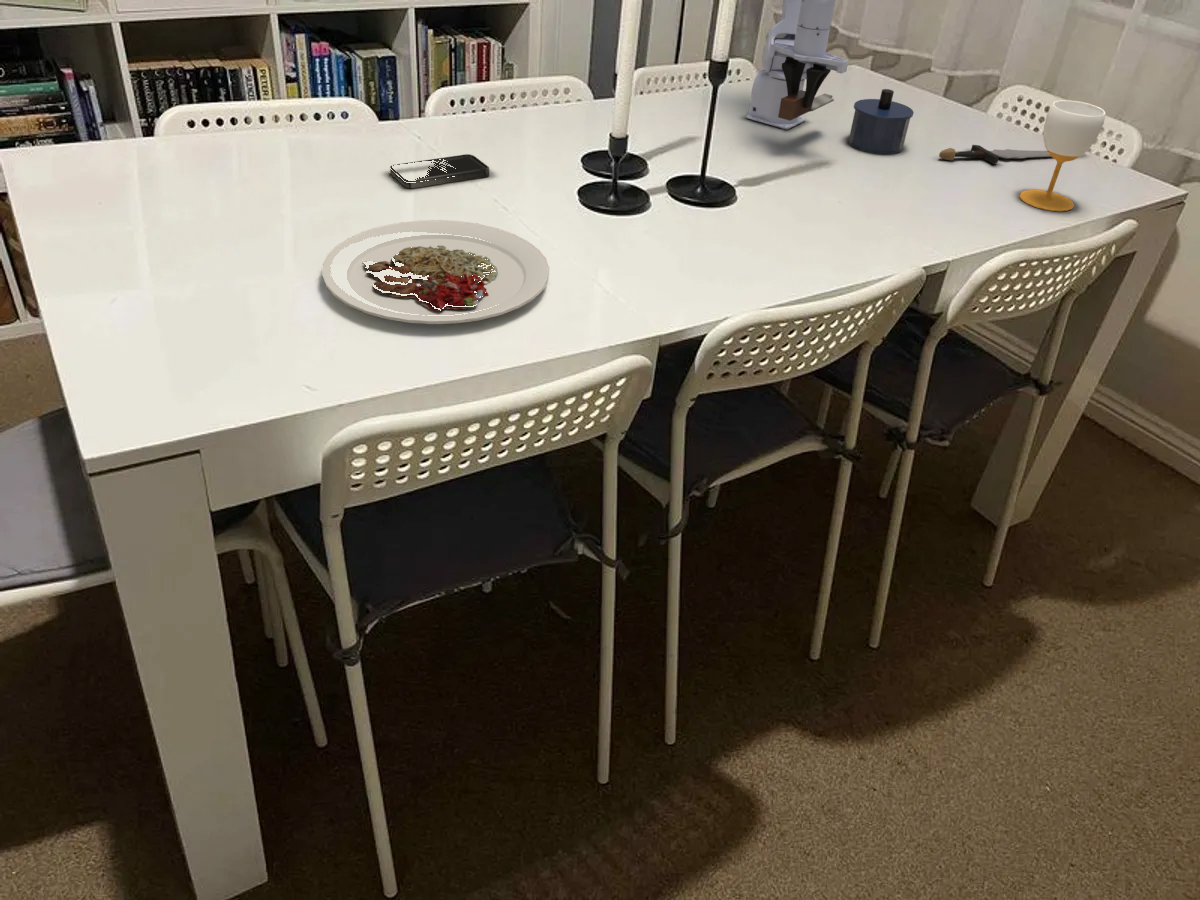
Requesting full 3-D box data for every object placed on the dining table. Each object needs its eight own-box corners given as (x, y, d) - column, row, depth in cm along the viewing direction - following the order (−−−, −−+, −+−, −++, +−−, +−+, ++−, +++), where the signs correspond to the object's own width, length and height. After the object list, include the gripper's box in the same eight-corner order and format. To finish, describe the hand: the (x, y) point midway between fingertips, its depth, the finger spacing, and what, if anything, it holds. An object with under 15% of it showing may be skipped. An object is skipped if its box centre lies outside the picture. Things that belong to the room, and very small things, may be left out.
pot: (839, 144, 188) (846, 110, 185) (862, 131, 195) (869, 98, 191) (889, 158, 184) (897, 123, 180) (910, 145, 191) (919, 111, 187)
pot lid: (843, 113, 185) (848, 89, 182) (867, 100, 192) (872, 78, 190) (898, 127, 180) (903, 104, 177) (921, 114, 187) (927, 91, 185)
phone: (491, 169, 163) (406, 182, 156) (491, 175, 164) (407, 189, 157) (470, 153, 168) (387, 165, 162) (470, 159, 169) (388, 171, 162)
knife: (791, 121, 176) (794, 102, 174) (776, 117, 178) (779, 98, 176) (837, 99, 189) (841, 81, 187) (823, 95, 190) (827, 77, 188)
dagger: (927, 150, 189) (929, 139, 188) (1080, 153, 193) (1084, 142, 192) (943, 165, 183) (946, 154, 182) (1101, 167, 188) (1105, 156, 186)
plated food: (442, 214, 150) (441, 193, 148) (593, 281, 136) (595, 258, 134) (276, 276, 131) (272, 252, 129) (432, 361, 116) (431, 336, 114)
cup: (1019, 187, 176) (1049, 96, 166) (1072, 197, 174) (1106, 105, 164) (1019, 205, 169) (1050, 111, 159) (1074, 215, 167) (1110, 120, 157)
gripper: (766, 20, 172) (753, 99, 180) (841, 38, 166) (825, 119, 174) (785, 14, 177) (772, 91, 185) (859, 31, 170) (842, 110, 179)
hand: (799, 104), depth 180 cm, fingers closed on knife, 2 cm apart
